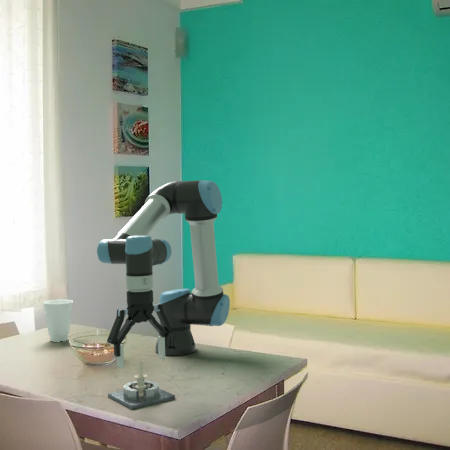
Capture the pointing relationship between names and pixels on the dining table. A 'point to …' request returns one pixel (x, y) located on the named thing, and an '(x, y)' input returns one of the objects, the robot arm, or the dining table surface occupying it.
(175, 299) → the robot arm
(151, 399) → the ring stand
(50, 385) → the dining table surface
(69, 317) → the cup
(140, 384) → the candle
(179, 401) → the dining table surface
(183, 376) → the dining table surface
